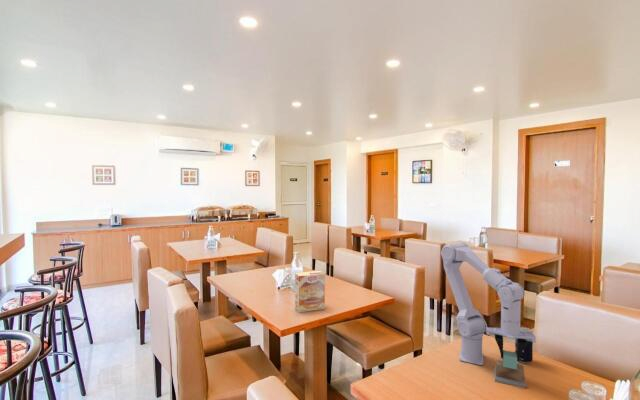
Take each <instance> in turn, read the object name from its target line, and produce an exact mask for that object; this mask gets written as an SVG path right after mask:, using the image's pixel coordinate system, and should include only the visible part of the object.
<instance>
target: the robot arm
mask: <svg viewBox="0 0 640 400" xmlns="http://www.w3.org/2000/svg"><path fill="white" fill-rule="evenodd" d="M440 256H441V258H442V262H443V263H442V264H443V269H444V272H445V275H446V277H447V281H448V283H449V285H450V286H449V287H450V289H451V292H452V294H453V297H454V300H455V303H456V305H457V309H458V314H457V315H456V317H455V318H456V322H457V324H456V325H457V330H458V332H459V334H460V336H461V349H460V354H459V361H460V362H465V363H470V364H473V365H478V366H484V353H483V337H484V333H486V335H488V336H490V335H492V336H494V340H495V342H496V344H497V346H498V349H499V352H500V358H501V359H503V350H504V337H505V338H508V339H512V340H515V339H517V351H516V354H517V362H519V359H520V355H521V353H522V351H523V349H524V348H525V347H526V345H527V343H526V341H532V342H533V344H536V343H537V341H536V340H537V338H536V335H535V334H534V333H533V334H528V333H525V332H521V331H520V327H521V313H522V311H521V309H522V308H521V306H522V305H521V303H522V301H521V300H522V299H524V298H525V295H526V294H525V290H524V289H525V288H524V287H523V286H522V285H521V284H520V283H518V282H513V281H512V280H511V279H509V278H507V277H506V276H505V275H504V274H502V273H501V270H500V269H499V268H495V267H492V268H491V267H490V266H488V265H487V264H486V263H485V262H484V261H483V260H482V259H481V258H480V257H479V256H478V255H477V254H476V253H475V252H474V251H473V248H472V247H470V246H469V245H468V244H467V243H465V242H459V243H453V244H452V243H451V244H448V243H447V244H445V245H443V247H442V249H441V250H440ZM464 262H466V263H467V264H469V265H470V266H471V267H472V268H474V269H475V270H476V271H478V272H479V273H480V274H481V275H482V278H483V279H482V280H483V281H484V282H486V283H487V284H488V285H489V286H491V288H492V289H494V291H496V292H497V296H498V298H499V300H500V306H501V308H500V309H501V310H500V327H488V324H487V321H486V320H485V319H484V318H483V316H482V313H481V312H480V311H478V310H477V309H476V308H474V304H473V302H472V299H471V297H470V295H469V291H468V289H467V286H466V283H465V280H464V278H463V275H462V273H461V269H460V268H461V266H462V264H463V263H464Z"/></svg>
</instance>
